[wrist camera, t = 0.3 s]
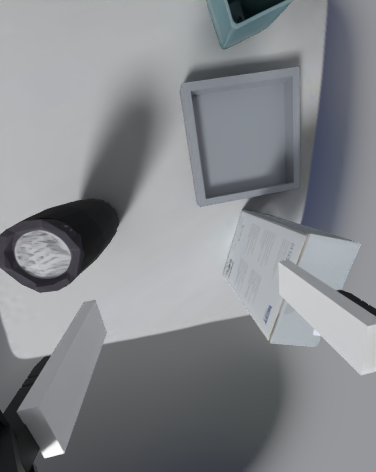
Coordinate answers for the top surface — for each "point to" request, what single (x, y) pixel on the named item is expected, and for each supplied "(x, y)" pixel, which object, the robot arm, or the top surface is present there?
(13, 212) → the top surface
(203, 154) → the tray
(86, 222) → the portable speaker
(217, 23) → the flower pot
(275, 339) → the hard drive box
